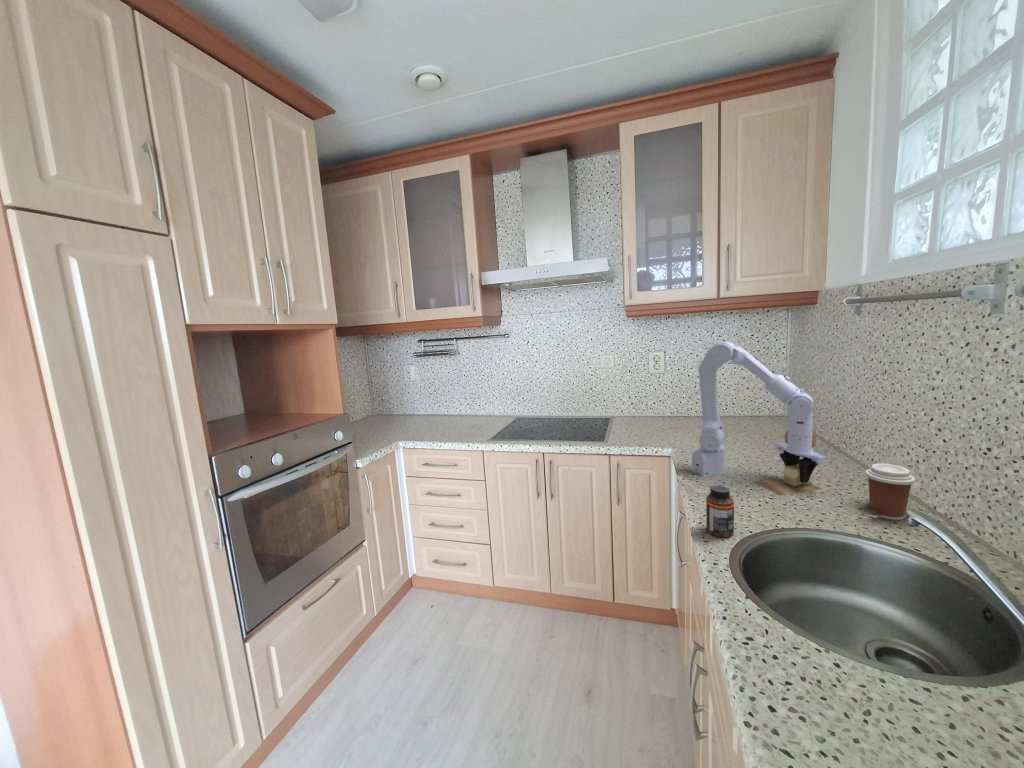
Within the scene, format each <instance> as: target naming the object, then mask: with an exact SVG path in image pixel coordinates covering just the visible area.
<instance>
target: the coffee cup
mask: <svg viewBox="0 0 1024 768" xmlns="http://www.w3.org/2000/svg"><path fill="white" fill-rule="evenodd" d="M864 475H865V476H866V477H867V481H868V499H869V500H868V502H869V503H868V504H869V507H870V509H872V510H873V511H876V512H878V513H873V515H874V516H876V517H879V518H882V519H886V520H893V521H894V520H895V521H896V520H897V521H899V520H900V519H901V520H904V519H905V517H906V513H905V511H906V512H907V507H908V502H909V497H910V493H911V492H910V491H911V487H912V485H913V484H915V483H916V480H917V478H915V476H914V475H912V474H911V470H909V469H908V468H907V467H904V466H900V465H896V464H890V463H873V464H871V465H870V468H868V469H866V470H865V471H864ZM903 518H904V519H903Z"/></svg>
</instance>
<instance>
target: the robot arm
mask: <svg viewBox="0 0 1024 768" xmlns="http://www.w3.org/2000/svg"><path fill="white" fill-rule="evenodd" d="M730 361H731V362H730ZM729 362H730V364H731V365H738V366H743V368H745V369H747V371H749V372H750V373H752V374H753V375H755V376H756V377H757V378H758V379H760V380H761V381H762V382H764V384H765V385H764V388H765V390H766V391H767V392H769V393H770V394H771V395H772V396H773V397H775V398H776V399H777V400H778V401H780V402H781V403H782V404H784V405H787V409H788V411H789V418H788V421H787V422H788V423H787V425H788V426H787V430H788V444H787V443H786V442H775V450H777V451H782V452H781V453H779V457H780V459H781V461H782V462H783V463H784V467H785V466H792V465H799V470H800V481H801V482H802V483H806V482H809V479H810V476H811V474H812V472H814V470H815V469H816V467H817V466H818V465H822V464H826V459H827V458H826V456H825V455H822V454H820V453H818V452H816V451H814V447H813V448H812V431H813V427H814V426H813V424H814V423H813V422H814V420H813V417H814V416H813V415H814V414H813V412H814V409H815V406H814V403H815V402H814V399H813V397H812V396H811V395H810V394H809V393H807V392H805V389H803V388H799V387H798V386H796V385H795V384H794V383H793V382H791V381H790V380H791V378H790V377H789V376H787V375H786V376H784V375H782V374H774V373H772V372H771V371H770V370H769V369H768V368H767V367H766V366H764V364H762V363H761V362H760V361H758V360H757V359H756V358H755V357H754V356H753V355H751V353H750V352H748V351H747V350H745V349H744V348H742V347H741V346H738V345H737V344H736V343H735V342H733V341H730V340H724V341H721V342H718V343H716V344H714V345H713V346H712V347H710V348H708V350H707V351H706V354H705V356H704V358H703V359H702V361H701V363H700V364H699V365H698V376H699V387H700V388H699V389H700V401H701V413H702V414H701V415H702V424H701V435H700V436H699V438H698V439H699V444H700V447H699V448H698V450H694V451H693V452H692V455H691V470H692V471H693V472H694V473H696V474H697V475H700V476H701V477H710V476H721V475H725V474H726V447H725V445H724V444H723V442H724V441H725V440H726V439H727V435H726V434H727V433H726V432H725V430H724V428H723V424H722V420H721V418H720V406H719V405H720V404H719V393H718V382H717V380H718V379H717V371H718V370H719V369H721V367H722V366H723V365H724V364H726V363H729Z"/></svg>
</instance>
